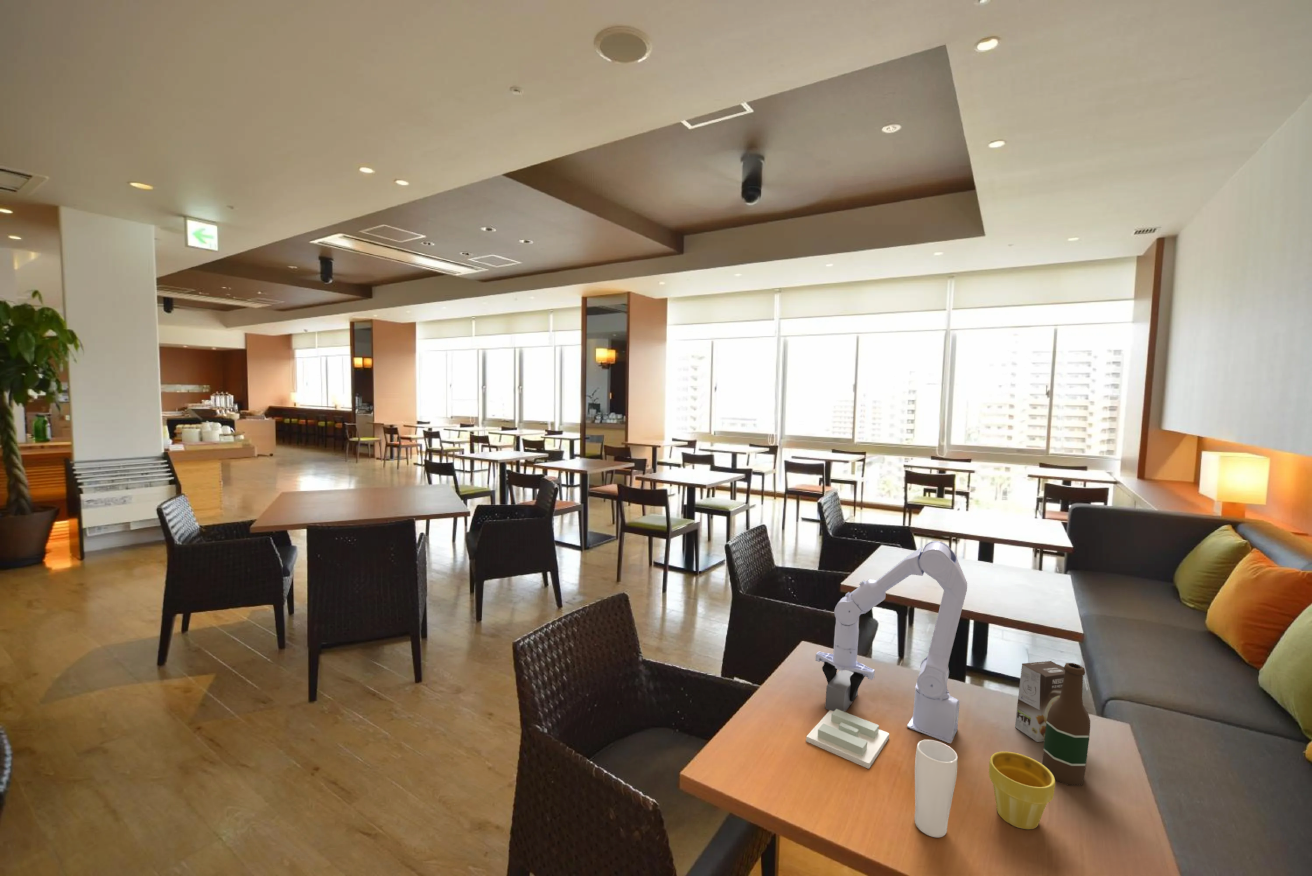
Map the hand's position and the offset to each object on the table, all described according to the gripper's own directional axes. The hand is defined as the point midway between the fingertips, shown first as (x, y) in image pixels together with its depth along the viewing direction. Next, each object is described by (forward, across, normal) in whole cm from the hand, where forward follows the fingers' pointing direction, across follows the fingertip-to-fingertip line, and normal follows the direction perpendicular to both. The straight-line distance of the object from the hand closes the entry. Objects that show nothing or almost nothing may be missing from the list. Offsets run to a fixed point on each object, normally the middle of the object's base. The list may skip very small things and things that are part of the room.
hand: (842, 696), depth 146 cm
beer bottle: (+2, +46, +4) cm, 46 cm away
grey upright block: (+1, 0, 0) cm, 1 cm away
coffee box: (+2, +41, +19) cm, 45 cm away
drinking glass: (+2, +28, -31) cm, 42 cm away
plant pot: (+2, +40, -17) cm, 43 cm away
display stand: (+1, +7, -15) cm, 17 cm away
